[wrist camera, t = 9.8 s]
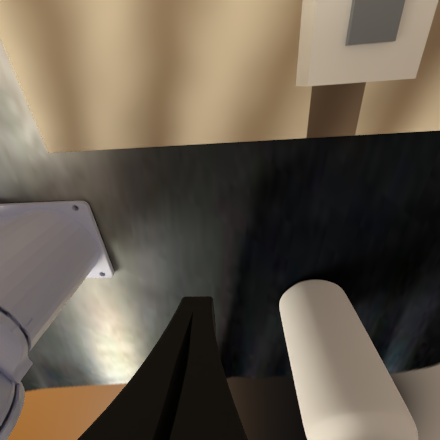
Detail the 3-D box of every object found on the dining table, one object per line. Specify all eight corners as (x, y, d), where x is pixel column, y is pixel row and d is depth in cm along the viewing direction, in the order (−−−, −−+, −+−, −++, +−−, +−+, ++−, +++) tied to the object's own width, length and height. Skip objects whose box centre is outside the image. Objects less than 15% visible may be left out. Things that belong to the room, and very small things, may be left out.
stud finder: (295, 86, 14) (309, 86, 11) (307, -65, 11) (329, -109, 8) (385, 79, 13) (420, 78, 11) (423, -79, 10) (482, -129, 8)
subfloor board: (57, 149, 17) (48, 153, 16) (-43, -104, 11) (-66, -119, 11) (436, 127, 15) (448, 129, 14) (551, -191, 9) (583, -219, 9)
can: (322, 265, 21) (407, 435, 11) (357, 303, 24) (455, 476, 13) (265, 297, 24) (290, 462, 13) (301, 329, 26) (346, 493, 16)
